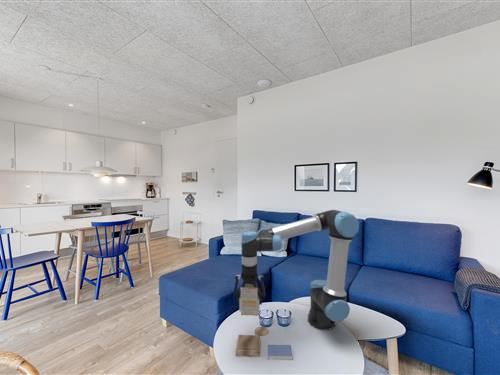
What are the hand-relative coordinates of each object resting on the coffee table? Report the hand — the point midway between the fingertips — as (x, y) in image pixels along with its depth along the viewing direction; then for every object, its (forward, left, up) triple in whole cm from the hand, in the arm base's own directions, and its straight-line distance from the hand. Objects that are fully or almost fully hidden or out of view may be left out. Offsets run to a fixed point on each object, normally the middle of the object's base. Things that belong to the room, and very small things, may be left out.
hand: (249, 310), depth 113 cm
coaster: (-5, -12, -18) cm, 23 cm away
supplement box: (0, 0, -1) cm, 1 cm away
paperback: (-14, +4, -19) cm, 24 cm away
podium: (+1, +1, -18) cm, 18 cm away
